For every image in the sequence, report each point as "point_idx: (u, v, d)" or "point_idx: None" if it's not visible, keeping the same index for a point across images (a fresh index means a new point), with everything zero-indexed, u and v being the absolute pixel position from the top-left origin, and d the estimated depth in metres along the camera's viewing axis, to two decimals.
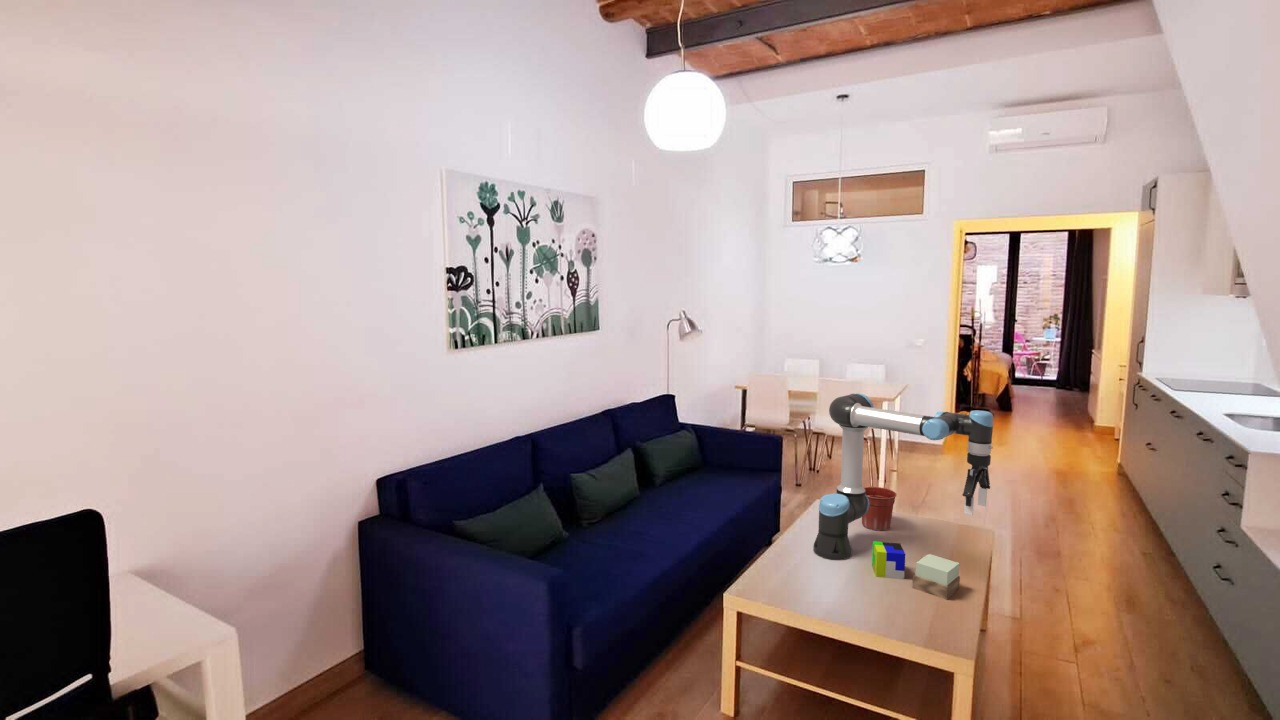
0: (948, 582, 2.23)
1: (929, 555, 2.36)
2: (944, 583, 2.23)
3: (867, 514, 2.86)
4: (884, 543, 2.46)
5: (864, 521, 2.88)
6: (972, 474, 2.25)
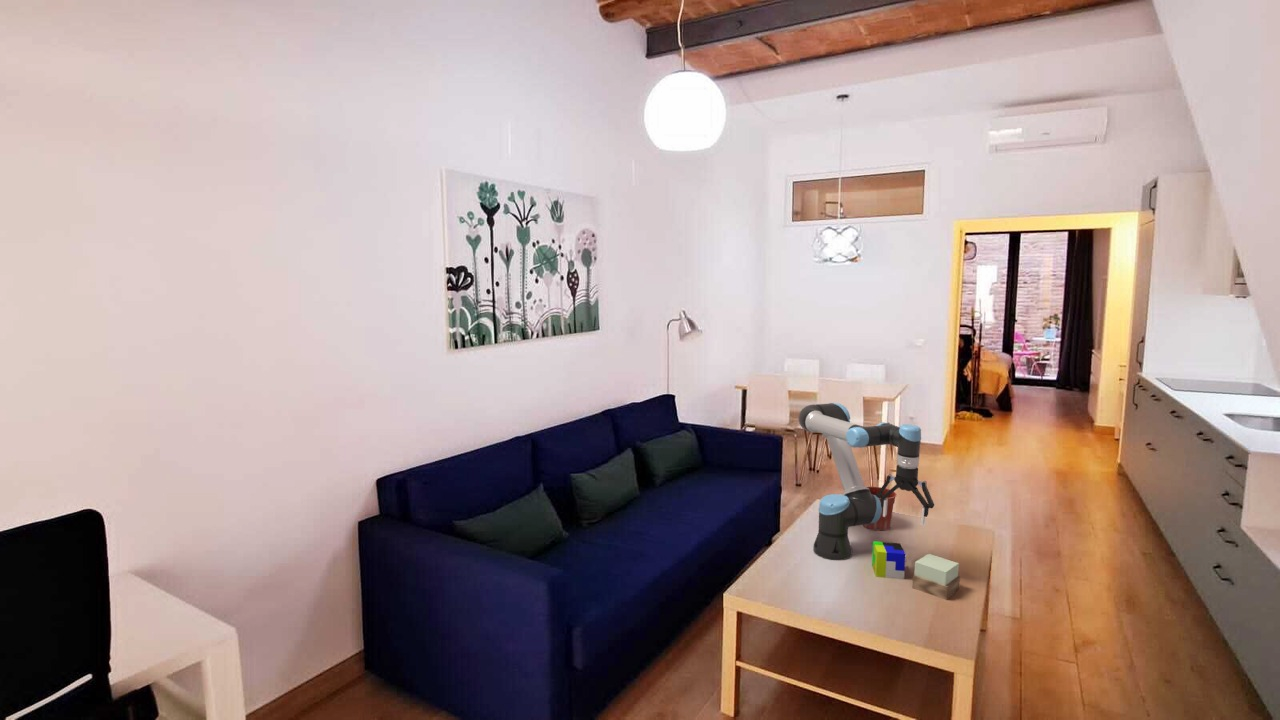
0: (947, 582, 2.23)
1: (929, 555, 2.36)
2: (942, 583, 2.23)
3: None
4: (884, 543, 2.46)
5: None
6: None
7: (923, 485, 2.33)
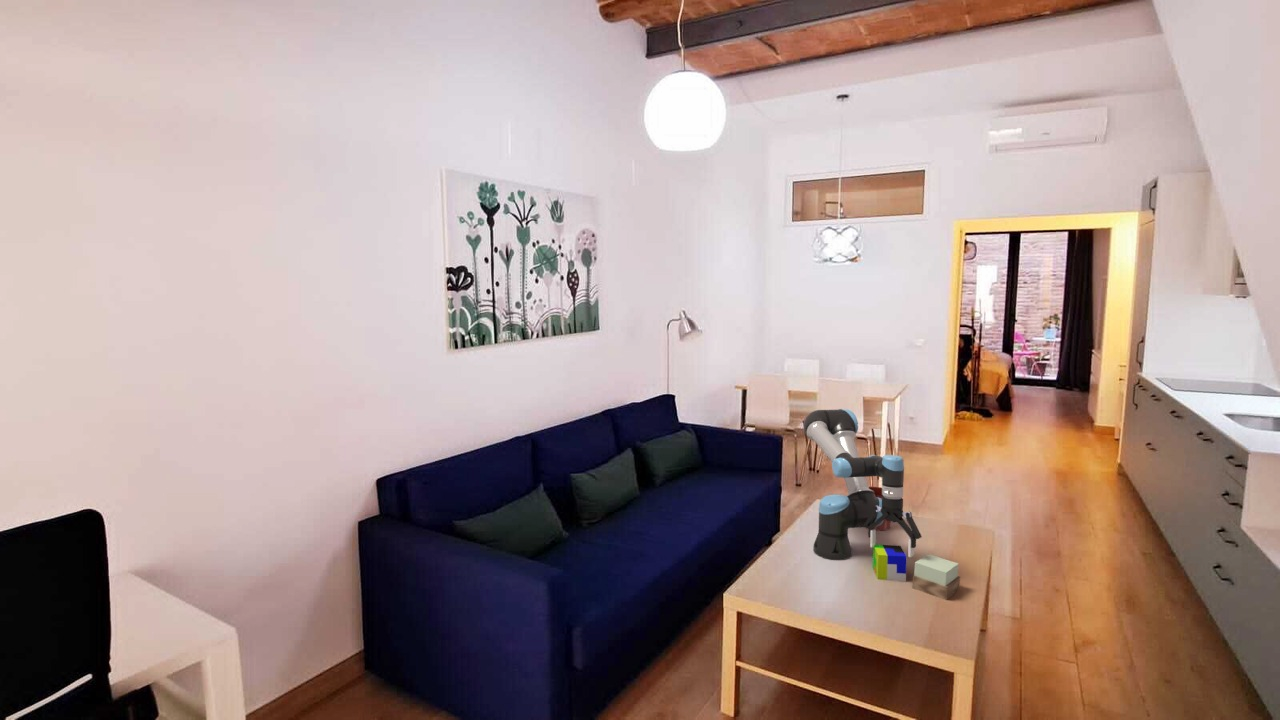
0: (947, 582, 2.23)
1: (928, 555, 2.35)
2: (942, 583, 2.23)
3: None
4: (884, 545, 2.44)
5: None
6: None
7: (907, 515, 2.34)
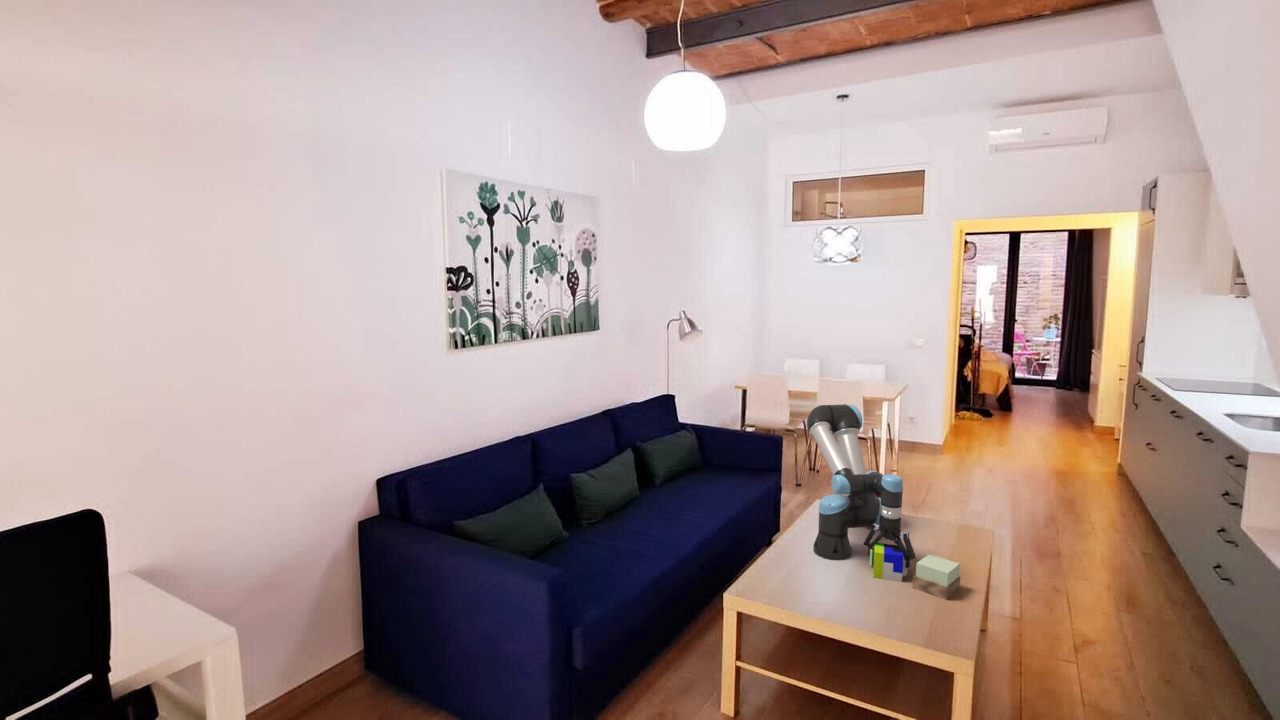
0: (948, 583, 2.23)
1: (930, 555, 2.35)
2: (944, 584, 2.22)
3: None
4: (885, 544, 2.45)
5: None
6: None
7: (904, 536, 2.36)
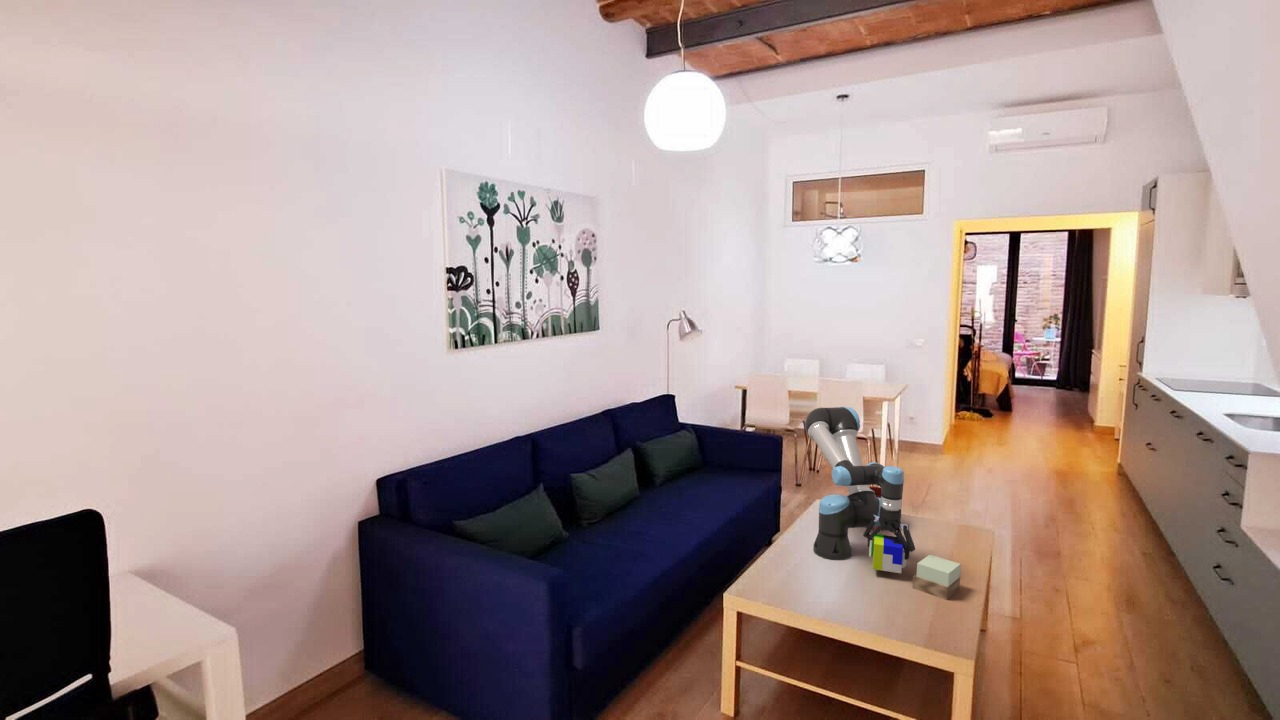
0: (949, 583, 2.22)
1: (930, 556, 2.35)
2: (945, 584, 2.22)
3: None
4: (885, 536, 2.45)
5: None
6: None
7: (904, 528, 2.36)
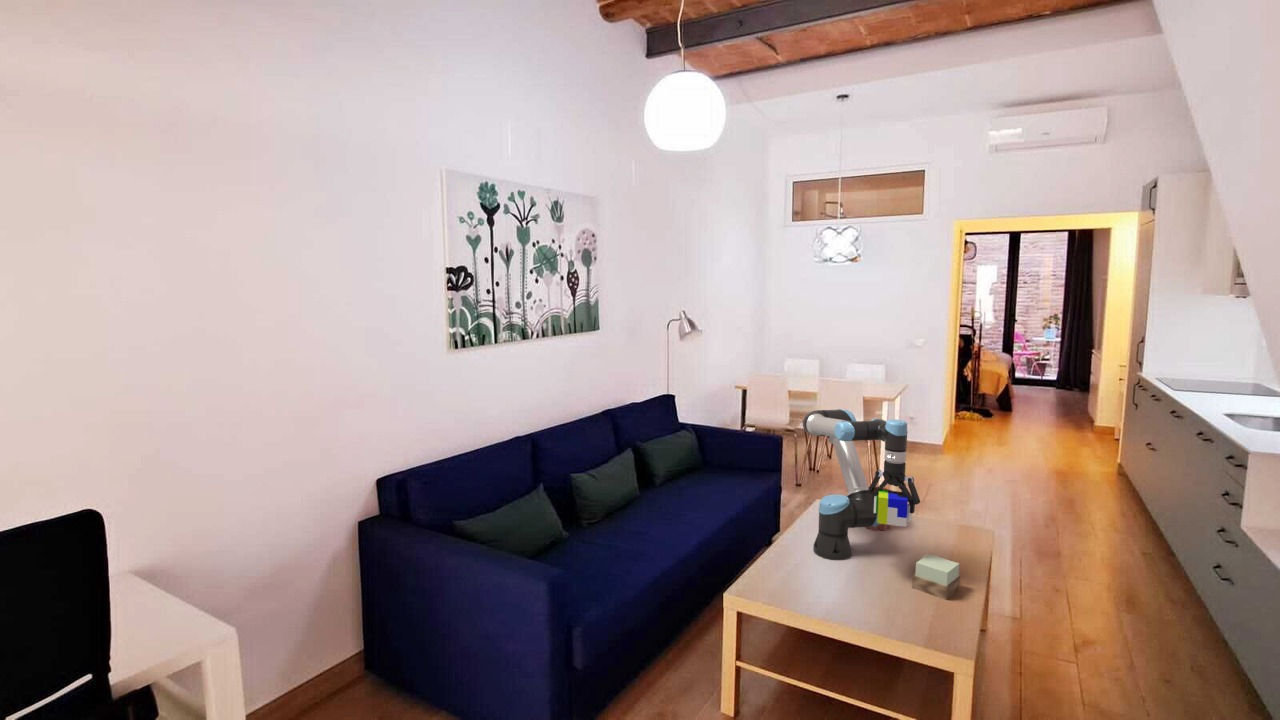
0: (948, 582, 2.23)
1: (929, 555, 2.35)
2: (944, 583, 2.22)
3: None
4: (890, 491, 2.41)
5: None
6: None
7: (909, 481, 2.33)
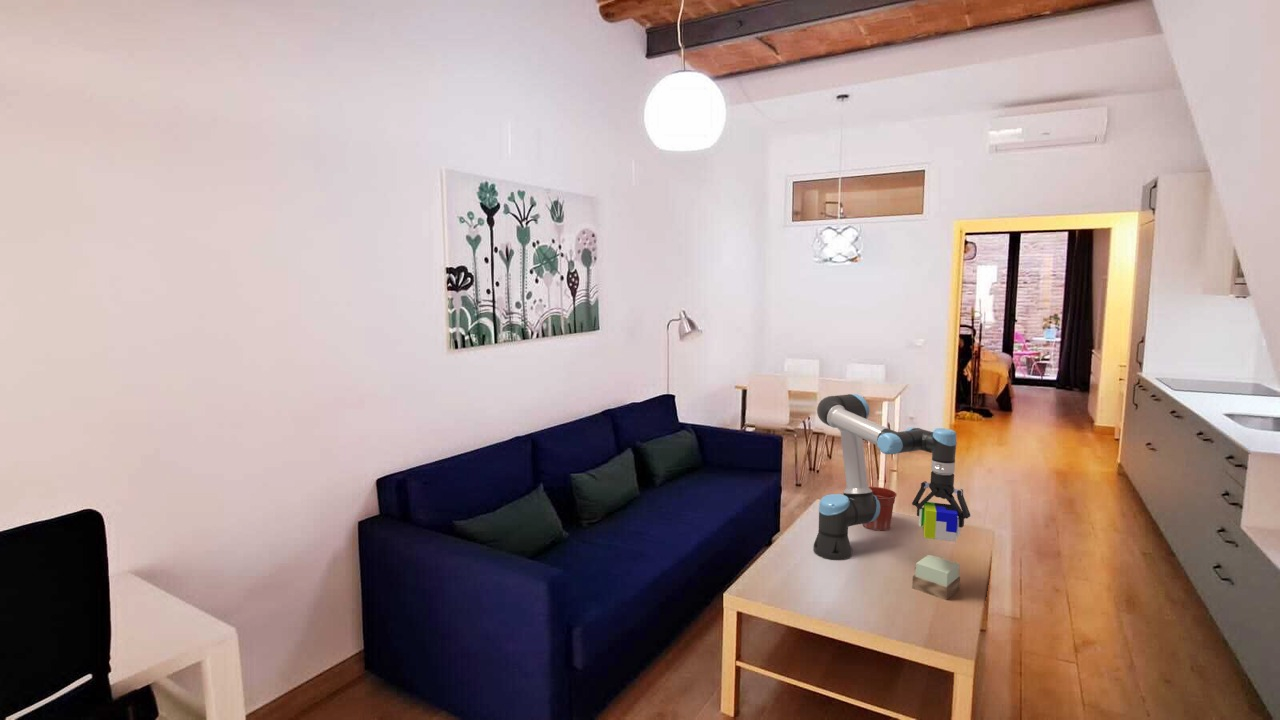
0: (948, 583, 2.23)
1: (929, 556, 2.35)
2: (944, 584, 2.22)
3: None
4: (936, 503, 2.29)
5: None
6: None
7: (958, 493, 2.21)
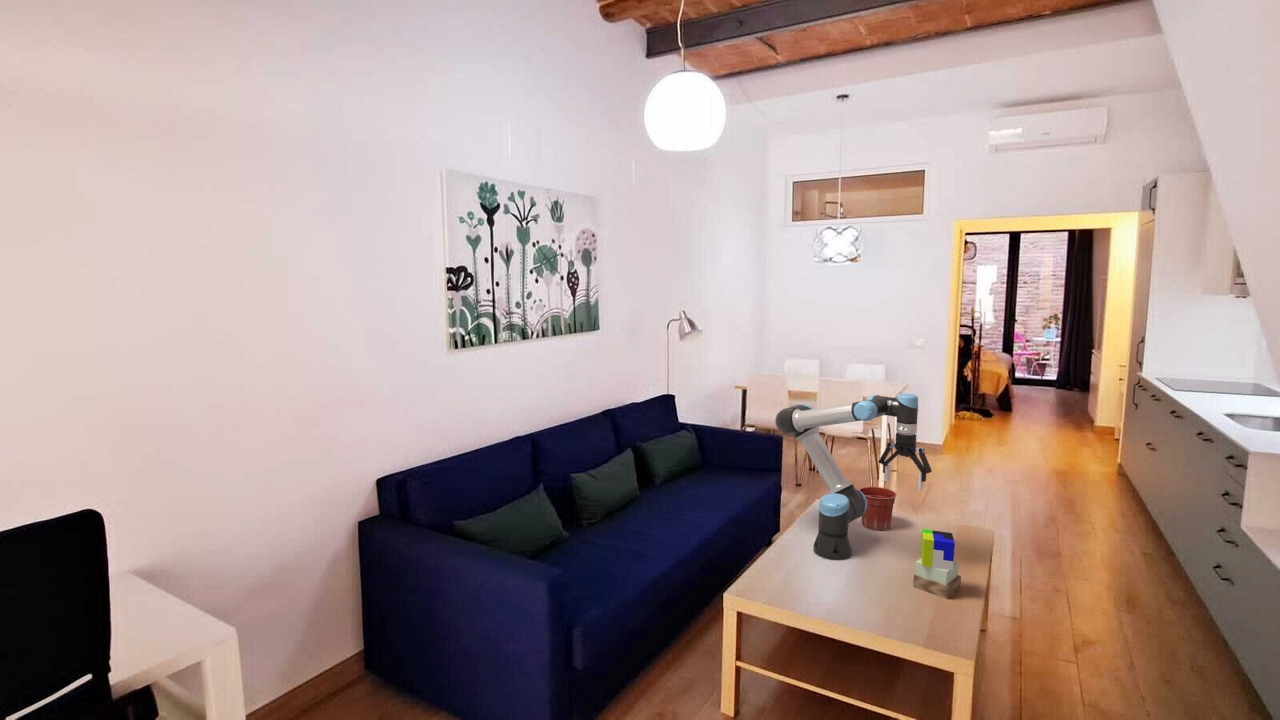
0: (947, 581, 2.24)
1: None
2: (943, 582, 2.23)
3: (867, 514, 2.86)
4: (934, 531, 2.33)
5: (864, 521, 2.88)
6: None
7: (920, 451, 2.44)
